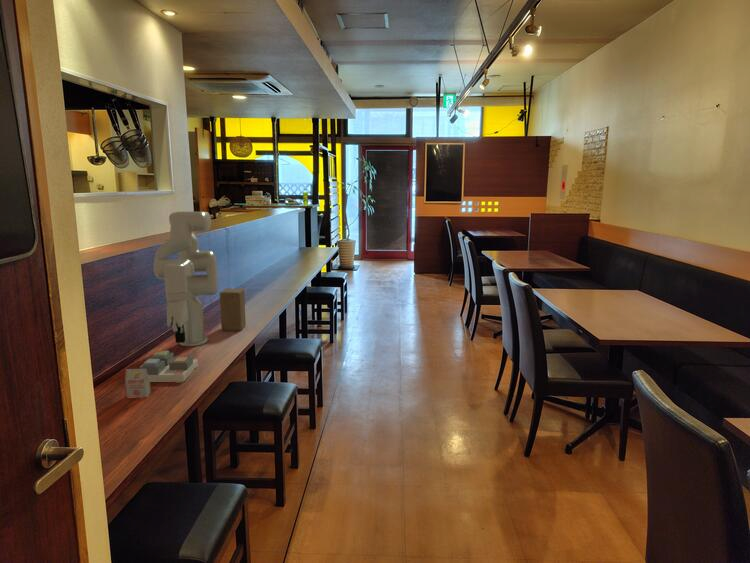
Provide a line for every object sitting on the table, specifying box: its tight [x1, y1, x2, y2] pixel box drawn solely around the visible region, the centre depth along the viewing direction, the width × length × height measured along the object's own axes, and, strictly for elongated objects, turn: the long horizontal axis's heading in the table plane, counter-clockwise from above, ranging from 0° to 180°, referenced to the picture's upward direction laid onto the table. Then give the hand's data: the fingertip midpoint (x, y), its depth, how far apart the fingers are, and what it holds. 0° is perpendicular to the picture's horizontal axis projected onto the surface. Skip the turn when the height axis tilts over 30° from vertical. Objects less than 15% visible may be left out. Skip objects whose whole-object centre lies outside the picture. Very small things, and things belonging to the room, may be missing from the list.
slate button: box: [143, 358, 160, 366], centre depth 178 cm, size 4×4×2 cm
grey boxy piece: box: [124, 368, 152, 398], centre depth 164 cm, size 4×7×10 cm, turn 96°
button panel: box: [138, 352, 199, 382], centre depth 183 cm, size 16×16×6 cm
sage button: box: [153, 350, 170, 358], centre depth 187 cm, size 4×4×2 cm
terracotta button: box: [173, 357, 189, 362], centre depth 183 cm, size 4×4×2 cm
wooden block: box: [219, 288, 247, 332], centre depth 242 cm, size 10×10×20 cm
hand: (180, 341), depth 184 cm, fingers closed
